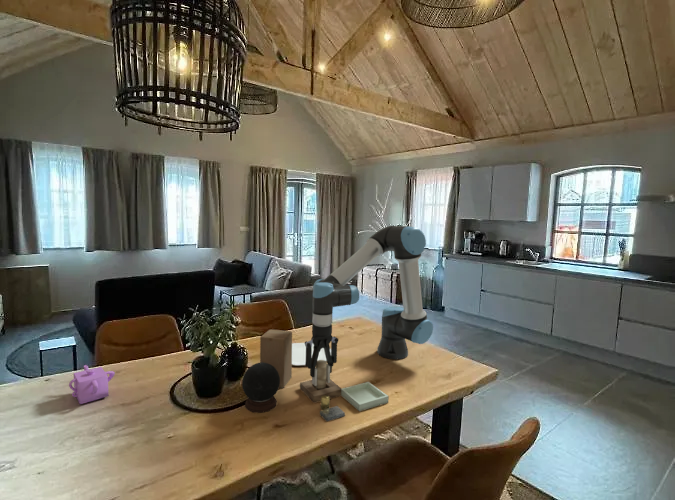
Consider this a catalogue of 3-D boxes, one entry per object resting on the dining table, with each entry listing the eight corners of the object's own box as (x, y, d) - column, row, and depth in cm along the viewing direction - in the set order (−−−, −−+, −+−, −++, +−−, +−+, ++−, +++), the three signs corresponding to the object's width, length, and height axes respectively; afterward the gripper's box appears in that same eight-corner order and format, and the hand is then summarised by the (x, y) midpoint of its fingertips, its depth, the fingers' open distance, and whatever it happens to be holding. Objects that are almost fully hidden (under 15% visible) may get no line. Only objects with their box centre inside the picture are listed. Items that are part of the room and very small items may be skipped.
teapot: (65, 392, 133) (63, 366, 132) (108, 381, 143) (107, 356, 142) (74, 412, 120) (72, 383, 119) (121, 398, 130) (120, 371, 129)
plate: (343, 353, 179) (343, 350, 179) (309, 373, 156) (310, 369, 156) (299, 341, 193) (299, 339, 193) (263, 358, 170) (263, 355, 170)
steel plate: (337, 409, 127) (337, 405, 127) (344, 416, 123) (344, 412, 122) (319, 414, 123) (319, 410, 123) (326, 421, 119) (326, 418, 119)
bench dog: (326, 405, 129) (327, 394, 129) (330, 409, 127) (331, 398, 126) (319, 407, 128) (319, 396, 127) (323, 411, 125) (323, 400, 125)
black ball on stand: (239, 398, 132) (239, 359, 131) (274, 392, 137) (275, 354, 136) (245, 417, 120) (245, 374, 119) (283, 410, 125) (284, 368, 124)
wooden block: (283, 388, 140) (284, 339, 138) (259, 385, 142) (259, 336, 140) (291, 377, 150) (292, 331, 148) (269, 374, 152) (269, 328, 150)
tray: (368, 387, 143) (368, 381, 143) (388, 402, 132) (388, 396, 132) (340, 395, 137) (340, 388, 136) (359, 411, 126) (359, 404, 125)
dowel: (322, 388, 141) (323, 359, 140) (327, 393, 138) (328, 363, 137) (313, 390, 139) (314, 361, 138) (318, 395, 136) (319, 365, 135)
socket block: (326, 382, 147) (326, 376, 147) (342, 395, 137) (342, 389, 136) (299, 388, 141) (300, 382, 140) (313, 403, 130) (313, 396, 130)
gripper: (337, 318, 144) (336, 374, 146) (296, 324, 135) (295, 383, 137) (347, 323, 137) (345, 381, 140) (305, 330, 128) (303, 392, 131)
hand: (320, 382), depth 138 cm, fingers open, 5 cm apart
